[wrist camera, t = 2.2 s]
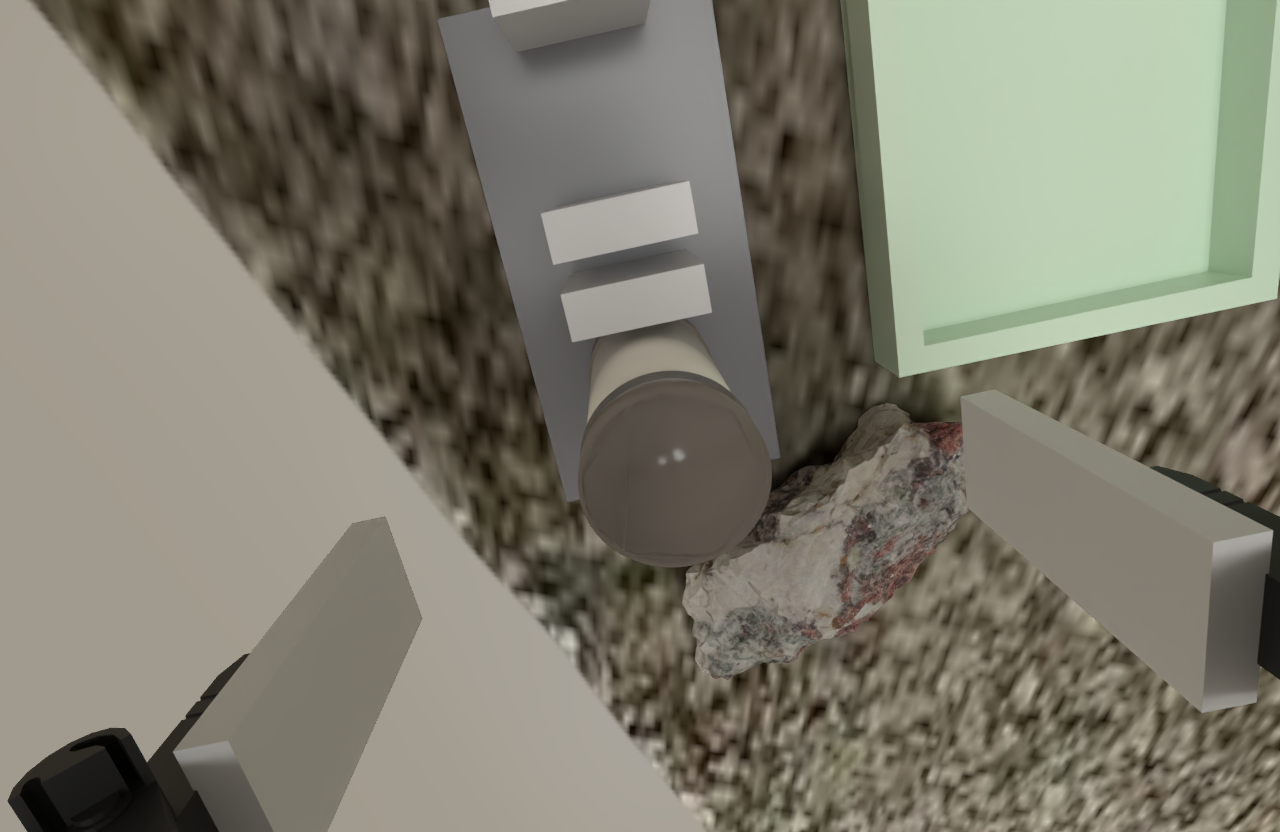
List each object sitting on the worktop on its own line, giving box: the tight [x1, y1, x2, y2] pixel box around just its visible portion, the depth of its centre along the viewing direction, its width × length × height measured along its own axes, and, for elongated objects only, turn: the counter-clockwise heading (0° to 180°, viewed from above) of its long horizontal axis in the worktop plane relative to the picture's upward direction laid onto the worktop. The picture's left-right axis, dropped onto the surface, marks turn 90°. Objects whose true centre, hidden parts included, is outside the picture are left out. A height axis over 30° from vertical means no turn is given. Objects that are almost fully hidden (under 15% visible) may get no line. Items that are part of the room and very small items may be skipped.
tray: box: [840, 0, 1280, 378], centre depth 24 cm, size 16×14×2 cm
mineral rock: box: [682, 403, 969, 680], centre depth 28 cm, size 15×8×4 cm, turn 125°
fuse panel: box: [437, 0, 780, 502], centre depth 23 cm, size 18×9×6 cm, turn 12°
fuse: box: [578, 318, 772, 567], centre depth 21 cm, size 5×5×11 cm
